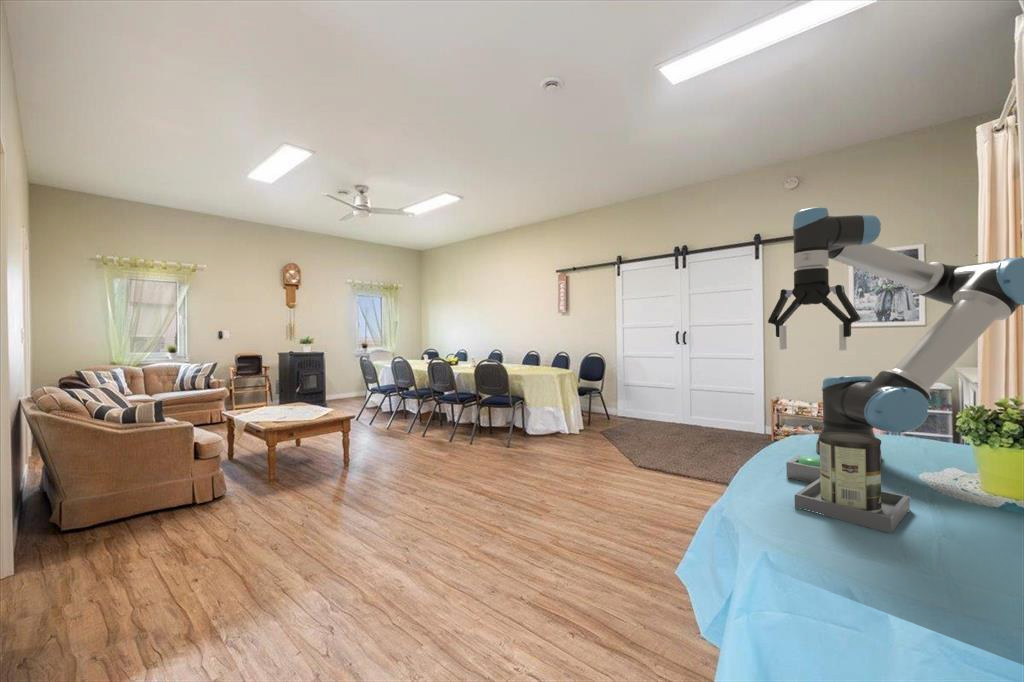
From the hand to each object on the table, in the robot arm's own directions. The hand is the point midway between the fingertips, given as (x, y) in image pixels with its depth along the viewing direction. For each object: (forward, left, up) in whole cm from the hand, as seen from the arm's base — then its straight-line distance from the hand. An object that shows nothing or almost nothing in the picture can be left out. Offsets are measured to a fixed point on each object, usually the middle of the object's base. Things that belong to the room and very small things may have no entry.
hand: (811, 349), depth 115 cm
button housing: (+8, +2, -32) cm, 33 cm away
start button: (+8, +2, -31) cm, 32 cm away
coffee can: (+23, +14, -31) cm, 41 cm away
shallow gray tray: (+23, +14, -32) cm, 42 cm away
